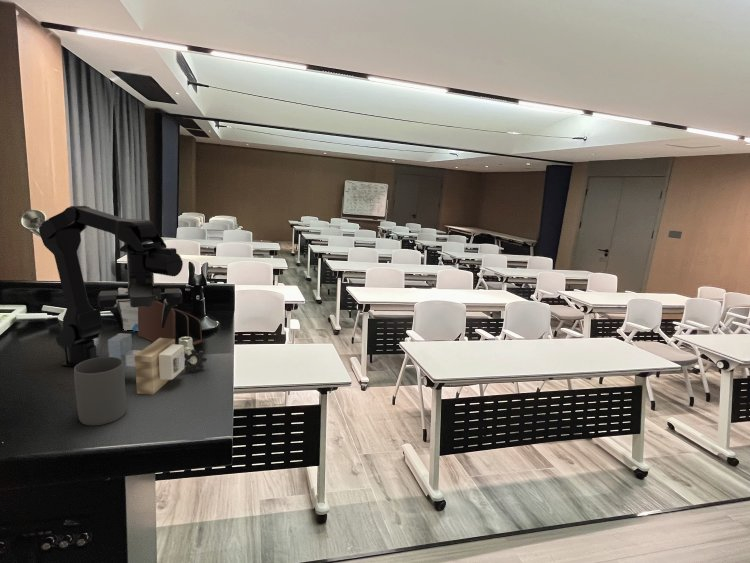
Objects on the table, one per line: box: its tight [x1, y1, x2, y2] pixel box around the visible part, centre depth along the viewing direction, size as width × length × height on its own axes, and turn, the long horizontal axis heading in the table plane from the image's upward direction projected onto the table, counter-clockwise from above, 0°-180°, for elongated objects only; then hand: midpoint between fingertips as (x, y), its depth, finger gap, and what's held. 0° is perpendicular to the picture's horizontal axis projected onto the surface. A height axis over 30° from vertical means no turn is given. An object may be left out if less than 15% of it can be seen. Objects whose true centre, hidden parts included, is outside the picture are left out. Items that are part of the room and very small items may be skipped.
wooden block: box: [134, 338, 175, 396], centre depth 110 cm, size 4×12×10 cm, turn 179°
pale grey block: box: [107, 332, 185, 374], centre depth 110 cm, size 17×5×9 cm, turn 89°
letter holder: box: [137, 300, 203, 346], centre depth 139 cm, size 10×20×14 cm, turn 57°
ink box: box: [117, 287, 138, 332], centre depth 146 cm, size 9×5×15 cm, turn 81°
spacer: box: [159, 344, 185, 381], centre depth 110 cm, size 3×7×6 cm, turn 0°
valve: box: [179, 337, 208, 373], centre depth 123 cm, size 7×7×12 cm
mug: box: [73, 356, 127, 426], centre depth 96 cm, size 14×9×12 cm
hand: (142, 329), depth 112 cm, fingers open, 9 cm apart
